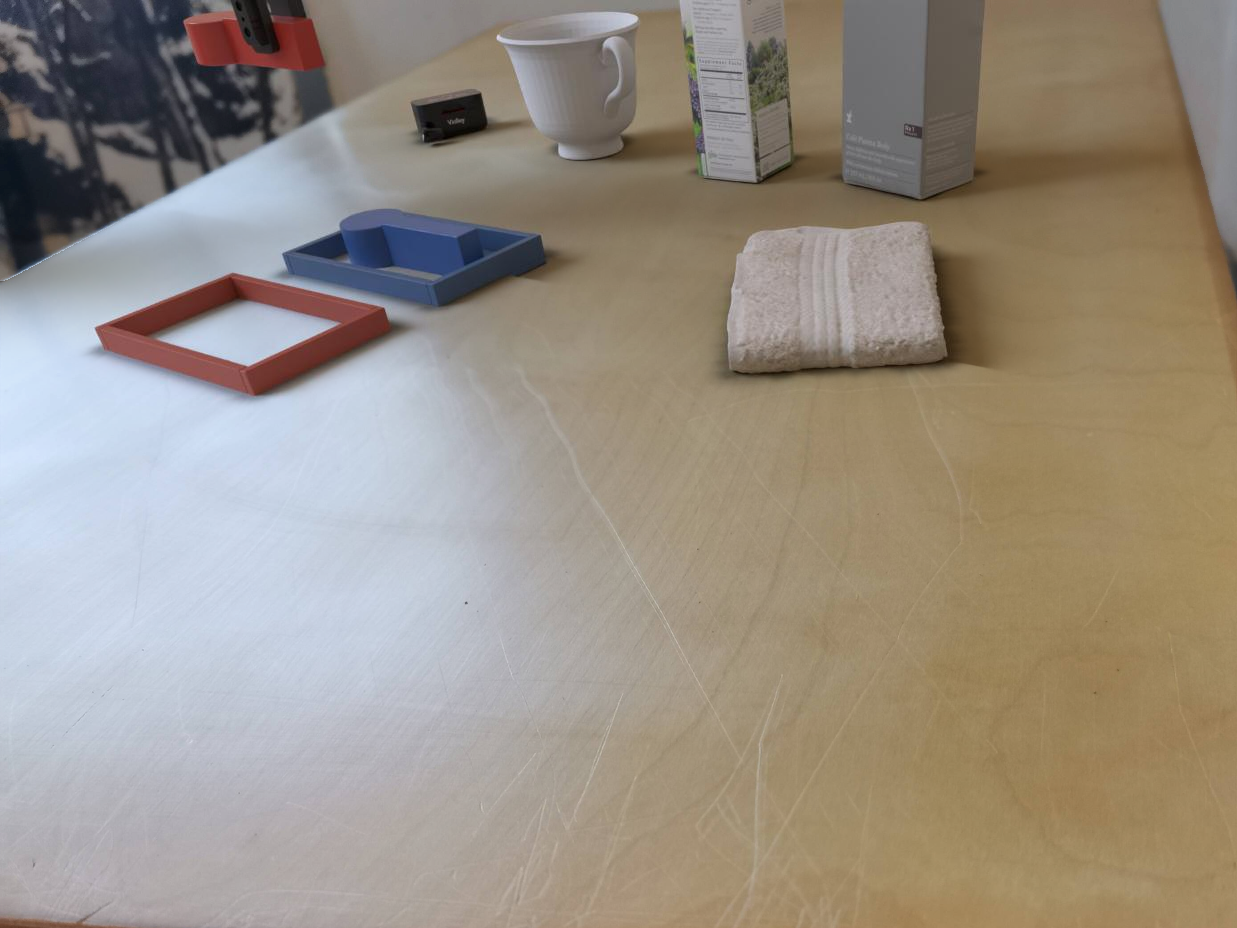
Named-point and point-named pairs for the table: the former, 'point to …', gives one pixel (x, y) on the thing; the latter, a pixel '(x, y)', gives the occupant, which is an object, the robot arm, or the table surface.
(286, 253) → the blue frame
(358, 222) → the blue rounded-end block
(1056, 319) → the table surface
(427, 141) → the black electronic device
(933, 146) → the cosmetic box
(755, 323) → the washcloth
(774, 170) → the syrup box
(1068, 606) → the table surface
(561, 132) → the teacup
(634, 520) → the table surface
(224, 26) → the red rounded-end block
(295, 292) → the red frame
